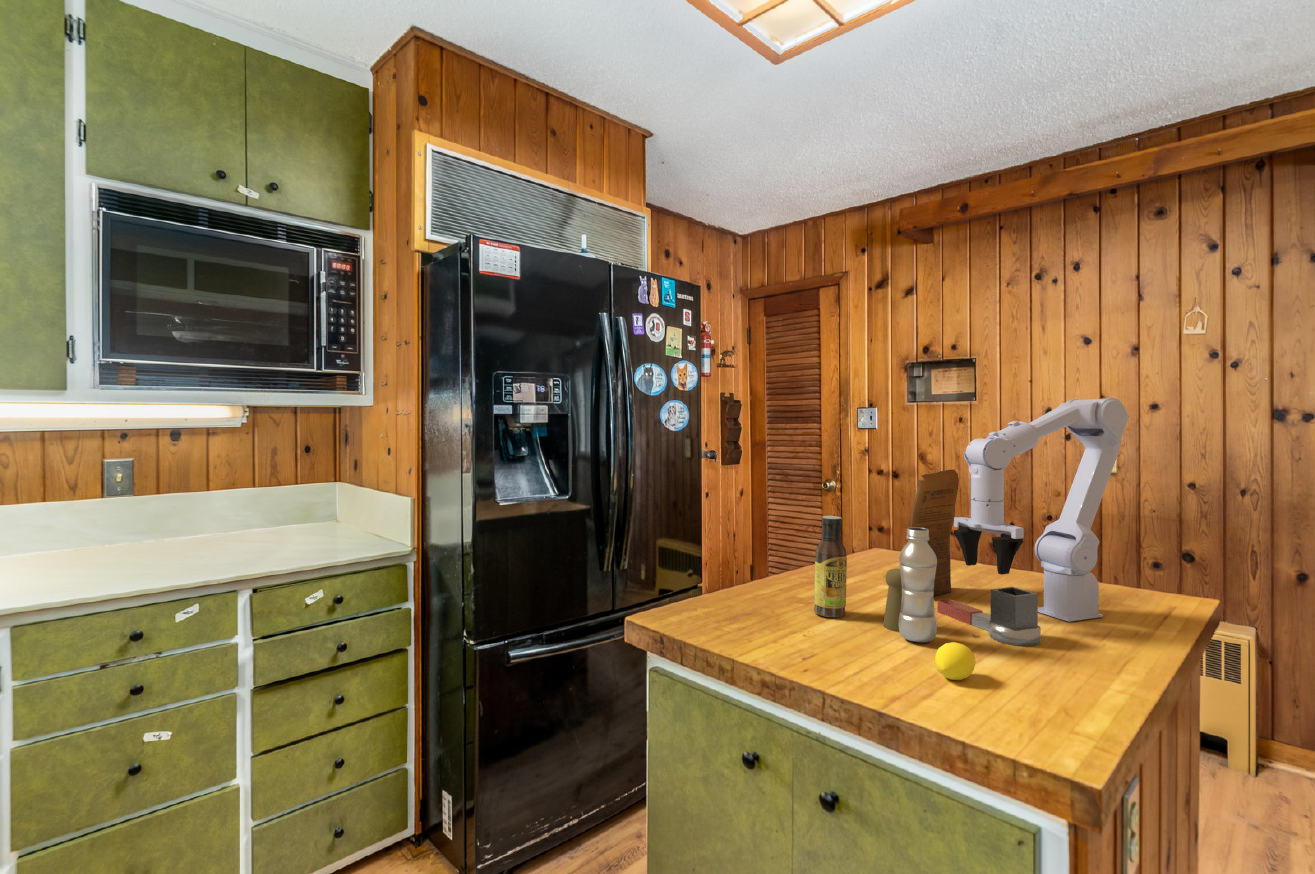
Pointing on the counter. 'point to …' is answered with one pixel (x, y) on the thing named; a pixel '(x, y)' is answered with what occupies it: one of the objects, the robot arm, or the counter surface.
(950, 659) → the lemon
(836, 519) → the sauce bottle
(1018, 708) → the counter surface
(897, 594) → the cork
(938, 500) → the pancake mix bag
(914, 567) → the plastic bottle
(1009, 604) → the square hollow tube
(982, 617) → the ratchet
